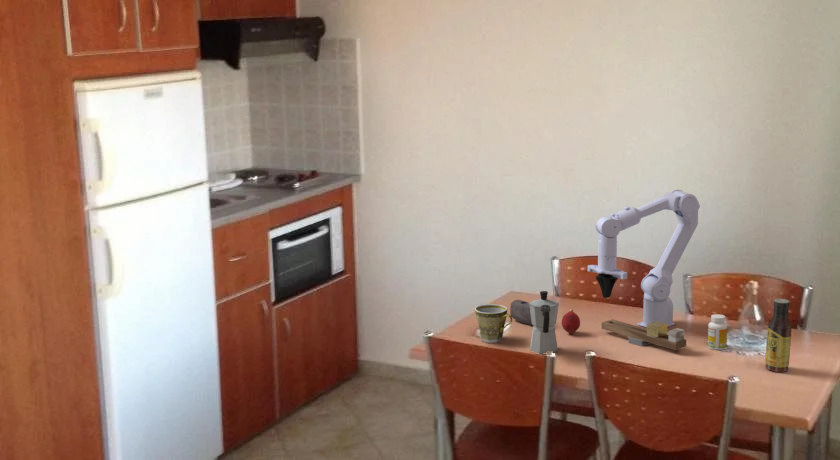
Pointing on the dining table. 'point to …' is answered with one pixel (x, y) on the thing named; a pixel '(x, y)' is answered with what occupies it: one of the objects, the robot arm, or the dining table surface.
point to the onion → (570, 322)
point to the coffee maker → (543, 324)
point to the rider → (657, 329)
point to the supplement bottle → (717, 332)
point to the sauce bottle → (778, 338)
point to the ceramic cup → (491, 322)
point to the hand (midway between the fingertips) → (606, 297)
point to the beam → (646, 335)
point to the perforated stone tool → (521, 311)
